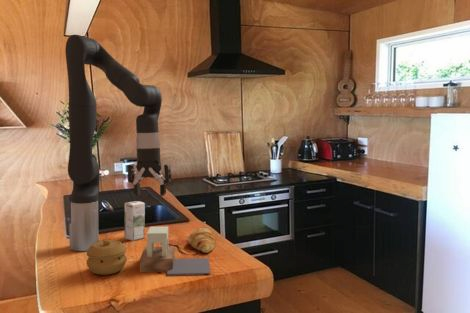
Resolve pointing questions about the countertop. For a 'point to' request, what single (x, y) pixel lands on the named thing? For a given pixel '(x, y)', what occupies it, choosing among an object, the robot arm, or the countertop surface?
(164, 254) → the notched cream block
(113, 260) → the pot
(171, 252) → the tan square slab
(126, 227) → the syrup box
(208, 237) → the croissant
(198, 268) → the felt pad
